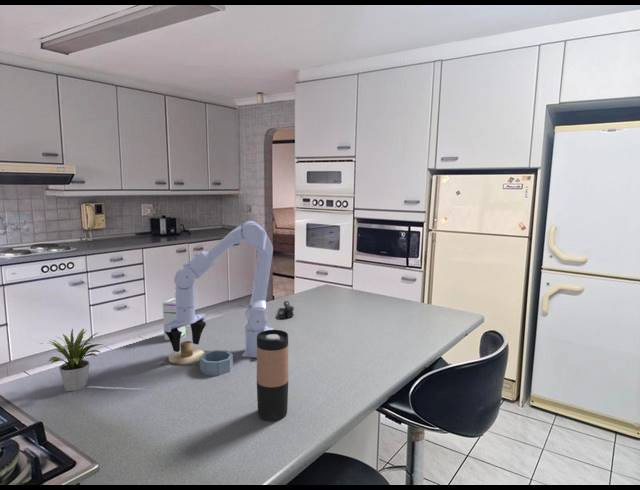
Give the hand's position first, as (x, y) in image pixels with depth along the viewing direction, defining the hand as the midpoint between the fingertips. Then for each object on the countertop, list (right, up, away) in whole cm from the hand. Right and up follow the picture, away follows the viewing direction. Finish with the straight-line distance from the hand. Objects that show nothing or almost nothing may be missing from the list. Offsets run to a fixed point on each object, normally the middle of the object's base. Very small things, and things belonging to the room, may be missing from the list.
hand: (186, 347), depth 130 cm
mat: (0, -4, +1) cm, 4 cm away
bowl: (+12, -5, -7) cm, 15 cm away
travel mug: (+31, -9, -30) cm, 44 cm away
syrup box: (-10, -2, +18) cm, 21 cm away
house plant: (-24, -7, -20) cm, 32 cm away
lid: (0, -3, 0) cm, 3 cm away
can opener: (+28, +2, +51) cm, 58 cm away
